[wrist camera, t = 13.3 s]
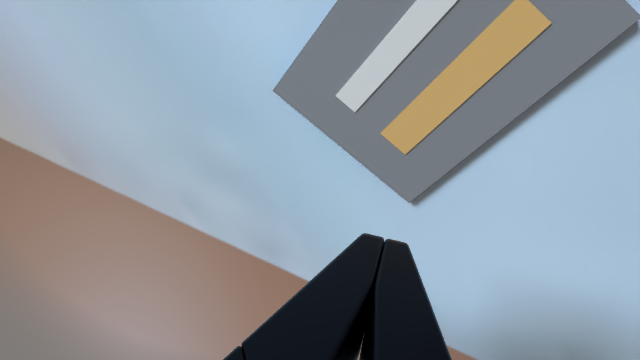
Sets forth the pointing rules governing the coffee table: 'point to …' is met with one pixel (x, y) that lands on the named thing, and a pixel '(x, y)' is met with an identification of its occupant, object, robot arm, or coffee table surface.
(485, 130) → the label plate
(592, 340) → the coffee table surface
